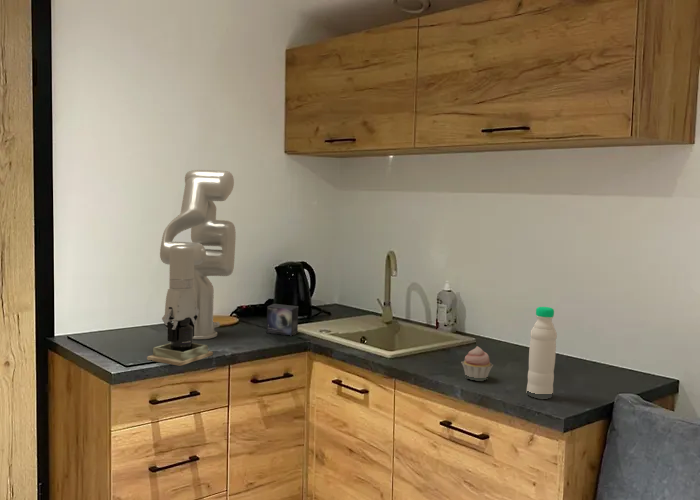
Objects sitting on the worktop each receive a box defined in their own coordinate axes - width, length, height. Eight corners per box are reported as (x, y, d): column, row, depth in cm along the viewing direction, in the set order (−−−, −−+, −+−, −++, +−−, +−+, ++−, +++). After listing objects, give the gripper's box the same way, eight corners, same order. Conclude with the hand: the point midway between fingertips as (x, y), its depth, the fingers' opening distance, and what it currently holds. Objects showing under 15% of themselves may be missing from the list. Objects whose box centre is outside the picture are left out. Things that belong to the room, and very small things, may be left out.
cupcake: (482, 374, 210) (484, 342, 209) (497, 382, 201) (499, 349, 200) (455, 375, 207) (456, 343, 206) (468, 384, 198) (470, 350, 197)
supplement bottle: (186, 357, 213) (186, 319, 211) (166, 355, 214) (166, 318, 213) (196, 352, 219) (196, 315, 218) (176, 350, 221) (176, 313, 220)
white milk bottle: (527, 399, 186) (533, 309, 184) (525, 391, 193) (530, 304, 191) (554, 401, 185) (560, 310, 183) (550, 393, 192) (556, 306, 190)
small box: (265, 333, 255) (266, 306, 253) (272, 330, 261) (273, 303, 260) (291, 336, 251) (292, 308, 250) (298, 333, 257) (299, 305, 256)
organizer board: (181, 349, 226) (181, 339, 226) (212, 354, 221) (213, 344, 220) (147, 359, 212) (147, 348, 212) (180, 365, 206) (180, 354, 206)
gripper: (190, 279, 224) (189, 332, 225) (153, 286, 208) (152, 342, 210) (208, 282, 220) (207, 335, 222) (172, 288, 205) (171, 346, 207)
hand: (181, 338), depth 216 cm, fingers open, 7 cm apart
